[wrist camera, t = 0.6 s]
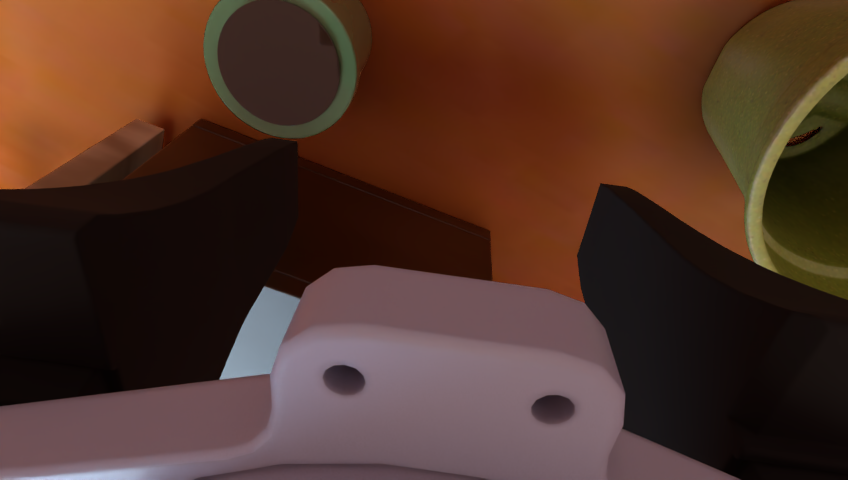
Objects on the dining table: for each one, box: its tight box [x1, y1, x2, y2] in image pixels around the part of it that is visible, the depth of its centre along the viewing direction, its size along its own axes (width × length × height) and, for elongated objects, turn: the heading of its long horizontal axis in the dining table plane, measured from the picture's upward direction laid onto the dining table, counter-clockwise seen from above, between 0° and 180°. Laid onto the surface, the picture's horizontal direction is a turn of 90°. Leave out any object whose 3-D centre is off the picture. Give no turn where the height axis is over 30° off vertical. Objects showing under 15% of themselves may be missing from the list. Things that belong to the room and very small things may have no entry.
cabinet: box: [123, 119, 492, 380], centre depth 23 cm, size 14×12×9 cm
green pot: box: [203, 0, 372, 139], centre depth 18 cm, size 5×5×5 cm
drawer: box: [25, 119, 164, 189], centre depth 22 cm, size 17×11×7 cm, turn 69°
